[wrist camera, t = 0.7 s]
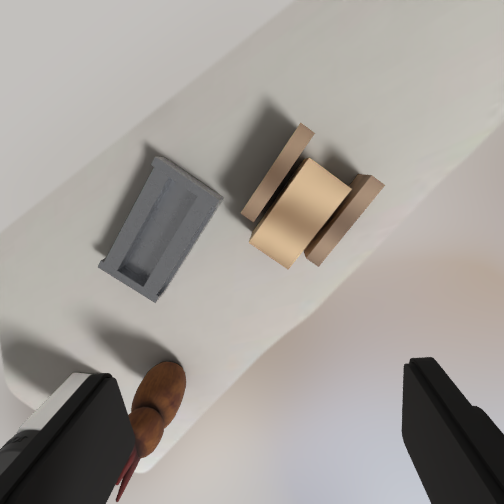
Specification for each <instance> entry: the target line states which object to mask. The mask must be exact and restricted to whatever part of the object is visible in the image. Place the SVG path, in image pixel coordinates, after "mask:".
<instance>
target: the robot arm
mask: <svg viewBox="0 0 504 504" xmlns="http://www.w3.org/2000/svg"><path fill="white" fill-rule="evenodd" d="M402 437H403V440H404V443H405V446H406V448H407V450H408V453H409V455H410V457H411V459H412V462H413V464H414V466H415V468H416V471H417V473H418V475H419V477H420V479H421V481H422V484H423V486H424V488H425V490H426V492H427V495H428V497H429V499H430V502H431V504H504V434H503V433H502V432H501V431H500V429H499V428H498V427H497V426H496V425H495V424H494V422H493V421H492V420H491V419H490V417H489V416H488V415H487V414H486V413H485V412H484V411H483V410H482V409H481V408H479V407H477V406H472V405H471V404H470V403H469V401H468V400H467V399H466V398H465V396H464V395H463V394H462V393H461V392H460V390H459V389H458V388H457V386H456V385H455V384H454V383H453V381H452V380H451V379H450V378H449V376H448V375H447V374H446V373H445V371H444V370H443V369H442V368H441V366H440V365H439V364H438V363H437V361H436V360H435V359H434V358H432V357H425V358H411V359H410V362H409V364H405V365H404V377H403V407H402ZM134 445H135V435H134V432H133V429H132V426H131V423H130V420H129V417H128V414H127V411H126V408H125V404H124V401H123V398H122V395H121V392H120V389H119V386H118V383H117V381H116V379H115V378H113V377H112V375H111V374H110V373H101V374H91V375H90V376H89V377H87V379H86V380H85V381H84V382H83V383H82V384H81V385H80V386H79V388H78V389H77V390H76V391H75V392H74V393H73V394H72V395H71V397H70V398H69V399H68V400H67V401H66V402H65V403H64V404H63V406H62V407H61V408H60V409H59V410H58V411H57V412H56V413H55V415H54V416H53V417H52V418H51V419H50V420H49V421H48V422H47V424H46V425H45V426H44V427H43V428H42V429H41V430H40V431H39V433H38V434H37V435H36V436H35V437H34V438H33V439H32V440H31V442H30V443H29V444H28V445H27V446H26V447H25V448H24V449H23V451H22V452H21V453H20V454H19V455H18V456H17V457H16V458H15V460H14V461H13V462H12V463H11V464H10V465H9V466H8V467H7V469H6V470H5V471H4V472H3V473H2V474H1V475H0V504H106V502H107V500H108V498H109V496H110V494H111V492H112V490H113V488H114V486H115V484H116V482H117V480H118V478H119V476H120V474H121V472H122V470H123V468H124V466H125V464H126V462H127V460H128V459H129V457H130V455H131V453H132V451H133V448H134Z"/></svg>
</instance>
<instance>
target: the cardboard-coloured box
mask: <svg viewBox="0 0 504 504" xmlns="http://www.w3.org/2000/svg"><path fill="white" fill-rule="evenodd" d="M351 190H352V189H351V188H350V187H348V186H347V185H346V184H344V183H343V182H342V181H340V180H339V179H338V178H336V177H335V176H333V175H332V174H331V173H329V172H328V171H327V170H325V169H324V168H323V167H321V166H320V165H319V164H317V163H316V162H315V161H313V160H312V159H311V158H306V159H304V160H303V161H302V163H301V164H300V166H299V167H298V168H297V170H296V171H295V173H294V174H293V175H292V177H291V178H290V180H289V181H288V183H287V184H286V185H285V187H284V188H283V190H282V191H281V192H280V194H279V195H278V197H277V198H276V199H275V201H274V202H273V204H272V205H271V207H270V208H269V209H268V211H267V212H266V214H265V215H264V216H263V218H262V219H261V221H260V222H259V224H258V225H257V226H256V228H255V229H254V231H253V232H252V235H251V238H250V240H249V243H250V244H251V245H253V246H254V247H256V248H257V249H259V250H260V251H262V252H263V253H265V254H266V255H268V256H269V257H270V258H272V259H273V260H275V261H276V262H278V263H279V264H281V265H282V266H284V267H285V268H287V269H289V268H290V267H291V265H292V264H293V263H294V262H295V260H296V259H297V258H298V257H299V255H300V254H301V253H302V252H303V250H304V249H305V248H306V246H307V245H308V244H309V243H310V241H311V240H312V239H313V238H314V236H315V235H316V234H317V233H318V231H319V230H320V229H321V227H322V226H323V225H324V224H325V222H326V221H327V220H328V219H329V217H330V216H331V215H332V214H333V212H334V211H335V210H336V209H337V207H338V206H339V205H340V203H341V202H342V201H343V200H344V198H345V197H346V196H347V195H348V193H349V192H350V191H351Z"/></svg>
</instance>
